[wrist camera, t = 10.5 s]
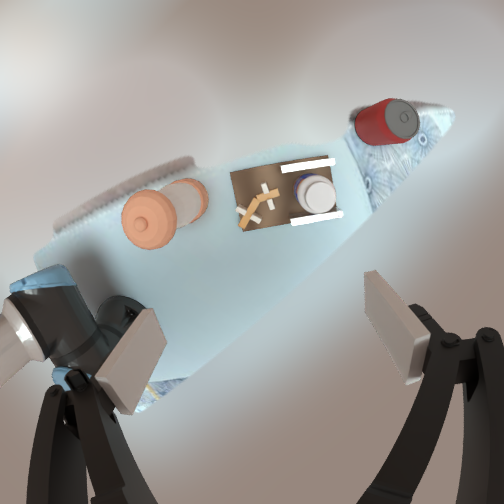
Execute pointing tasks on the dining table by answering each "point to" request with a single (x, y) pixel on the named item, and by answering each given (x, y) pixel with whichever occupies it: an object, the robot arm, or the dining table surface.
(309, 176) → the pill bottle
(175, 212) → the pepper shaker
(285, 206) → the board
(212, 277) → the dining table surface
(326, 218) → the end holder
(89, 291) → the dining table surface
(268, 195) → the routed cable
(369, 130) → the beer can
